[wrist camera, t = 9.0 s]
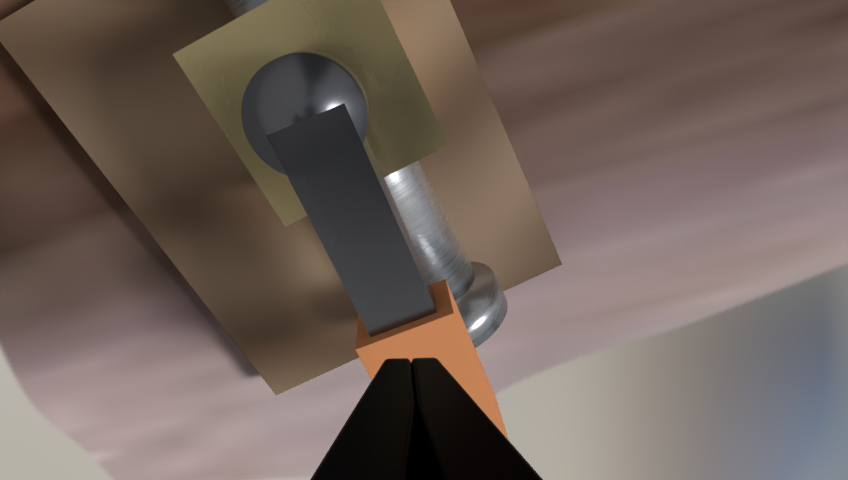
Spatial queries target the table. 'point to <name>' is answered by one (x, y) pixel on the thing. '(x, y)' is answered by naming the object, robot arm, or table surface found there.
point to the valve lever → (357, 215)
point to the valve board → (224, 195)
